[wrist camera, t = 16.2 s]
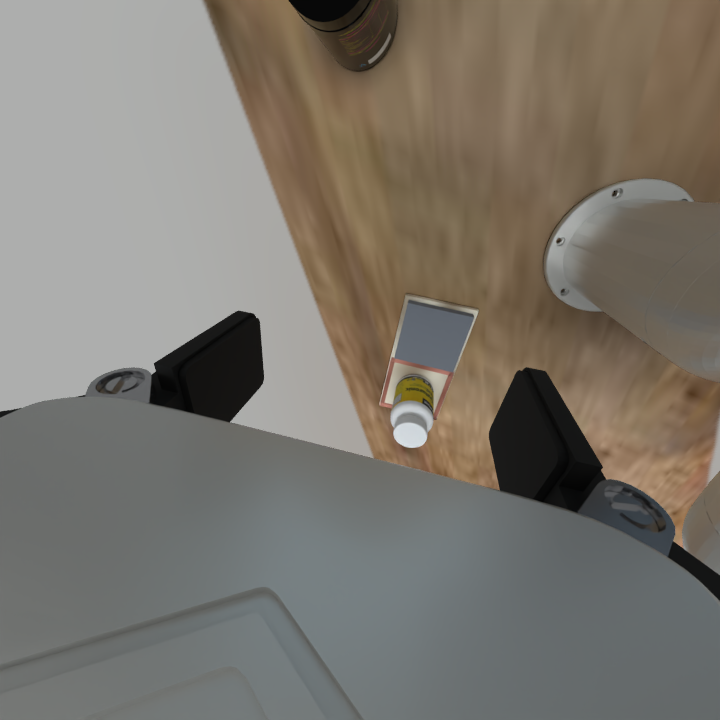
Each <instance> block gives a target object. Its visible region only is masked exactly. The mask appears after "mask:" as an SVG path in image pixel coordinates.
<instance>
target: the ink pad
mask: <svg viewBox="0 0 720 720" xmlns="http://www.w3.org/2000/svg"><path fill="white" fill-rule="evenodd" d="M473 320H474V315H473V314H471V313H467V312H462V311H458V310H453V309H448V308H444V307H439V306H435V305H430V304H426V303H421V302H417V301H412V300H409V301H408V305H407V309H406V313H405V317H404V321H403V325H402V329H401V333H400V337H399V341H398V345H397V349H396V353H395V357H394V358H395V359H399V360H403V361H407V362H412V363H416V364H420V365H424V366H428V367H432V368H436V369H441V370H445V371H449V372H454V369H455V366H456V364H457V361H458V359H459V356H460V353H461V351H462V348H463V346H464V343H465V340H466V338H467V335H468V333H469V330H470V327H471V325H472V322H473Z"/></svg>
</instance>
